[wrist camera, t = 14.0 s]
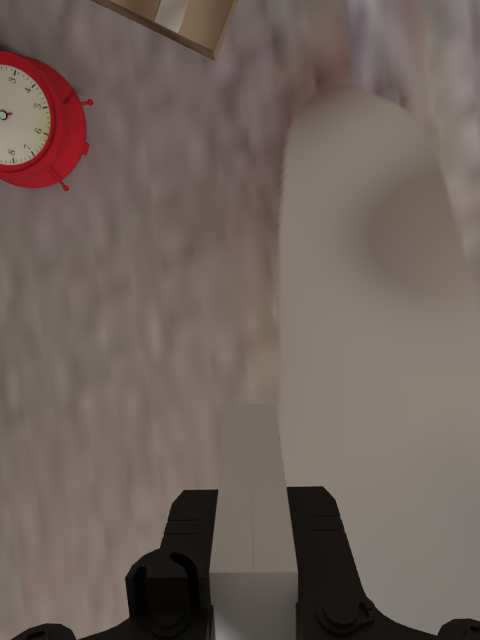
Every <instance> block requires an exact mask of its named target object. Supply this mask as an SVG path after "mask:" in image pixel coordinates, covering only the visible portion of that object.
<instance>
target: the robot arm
mask: <svg viewBox="0 0 480 640" xmlns="http://www.w3.org/2000/svg"><path fill="white" fill-rule="evenodd" d="M125 582H126V590H127V598H128V606H129V615H130V617H129V618H128V619H127V620H125V621H124V622H122V623H121V624H119V625H118V626H115V627H113V628H111V629H108V630H106V631H103V632H100V633H97V634H94V635H91V636H88V637H85V638H82V639H78V640H480V621H476V620H472V619H453V620H451V621H449V622H448V623H446V624H444V625H442V627H441V629H440V631H439V633H438V635H437V636H436V635H433V634H429V633H426V632H423V631H419V630H415V629H413V628H409V627H406V626H404V625H401V624H399V623H396V622H394V621H393V620H391V619H389V618H388V617H386V616H384V615H383V614H382V613H381V612H380V611H378V609H377V608H376V607H375V605H374V604H373V602H372V601H371V600H370V599H369V598H367V596H366V594H365V592H364V590H363V588H362V585H361V582H360V578H359V576H358V572H357V569H356V565H355V562H354V559H353V556H352V552H351V549H350V546H349V543H348V539H347V536H346V533H345V531H344V526H343V523H342V520H341V519H340V513H339V510H338V507H337V503H336V501H335V499H334V498H333V497H332V496H331V495H330V493H329V492H328V491H327V490H326V489H325V488H324V487H323V486H320V487H319V486H317V487H286V482H285V474H284V467H283V460H282V452H281V445H280V438H279V430H278V423H277V416H276V408H275V404H231V405H228V413H227V422H226V431H225V439H224V448H223V457H222V465H221V474H220V482H219V490H184V491H183V492H182V493H181V494H180V495H179V496H178V498H177V499H176V500H175V501H174V502H173V503H172V506H171V509H170V513H169V517H168V523H167V524H166V528H165V531H164V537H163V539H162V542H161V546H160V549H156V550H154V551H152V552H150V553H148V554H146V555H144V556H143V557H141V558H140V559H139V560H138V561H137V562H136V563H135V564H133V565H132V567H131V569H130V570H129V572H128V574H127V576H126V577H125ZM11 640H76V638H75V636H74V634H73V632H72V630H71V629H69V628H67V627H65V626H63V625H62V624H48V623H45V624H42V625H39V626H36V627H32V628H29V629H27V630H26V631H24V632H22V633H21V634H19V635H18V636H16V637H14V638H13V639H11Z"/></svg>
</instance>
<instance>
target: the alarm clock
mask: <svg viewBox="0 0 480 640" xmlns="http://www.w3.org/2000/svg"><path fill="white" fill-rule="evenodd" d="M86 104H89V105H90V106H92V105H93V101H92V100H91V99H89V100H88V101H87V102H80V101H79V98H78V96H77V94H76V93H75V91H74V90H73V88H72V87H71V85H70V84H69V83H68V82H67V81H66V80H65V79H64V78H63V77H62V76H61V75H60V74H59V73H58V72H56V71H55V70H54V69H52V68H51V67H49V66H48V65H46V64H44V63H42V62H39V61H37V60H33V59H29V58H24V57H22V56H20V55H17V54H14V53H10V52H5V51H0V179H2V180H3V181H5V182H8V183H10V184H13V185H16V186H20V187H25V188H42V187H47V186H50V185H53V184H55V183H57V182H59V183H60V184H61V185H62V186H63V189H64V190H65V191H67V190H68V189H69V187H68V186H65V185H64V183H63V182H62V181H61V180H62V179H64V178H65V177H66V176H67V175H68V174H69V173H71V171H72V170H73V169H74V168H75V166H76V165H77V163H78V162H79V160H80V158H81V156H82V154H84V155H87V152H88V148H89V144H87V143H85V140H86V121H85V115H84V112H83V108H82V105H86Z"/></svg>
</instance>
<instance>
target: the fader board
mask: <svg viewBox="0 0 480 640" xmlns="http://www.w3.org/2000/svg"><path fill="white" fill-rule="evenodd" d="M92 1H94V2H96V3H98V4H100V5H102V6H104V7H106V8H108V9H110V10H112V11H114V12H116V13H119V14H121V15H123V16H125V17H127V18H129V19H131V20H133V21H135V22H137V23H139V24H141V25H143V26H145V27H147V28H149V29H151V30H153V31H156V32H158V33H160V34H162V35H164V36H166V37H168V38H170V39H172V40H174V41H176V42H178V43H180V44H182V45H184V46H186V47H188V48H190V49H192V50H195V51H197V52H199V53H201V54H203V55H205V56H207V57H209V58H211V59H213V60H215V59H216V57H217V54H218V52H219V49H220V46H221V44H222V41H223V39H224V36H225V33H226V31H227V28H228V25H229V23H230V20H231V18H232V15H233V12H234V10H235V7H236V5H237V2H238V0H92Z"/></svg>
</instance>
